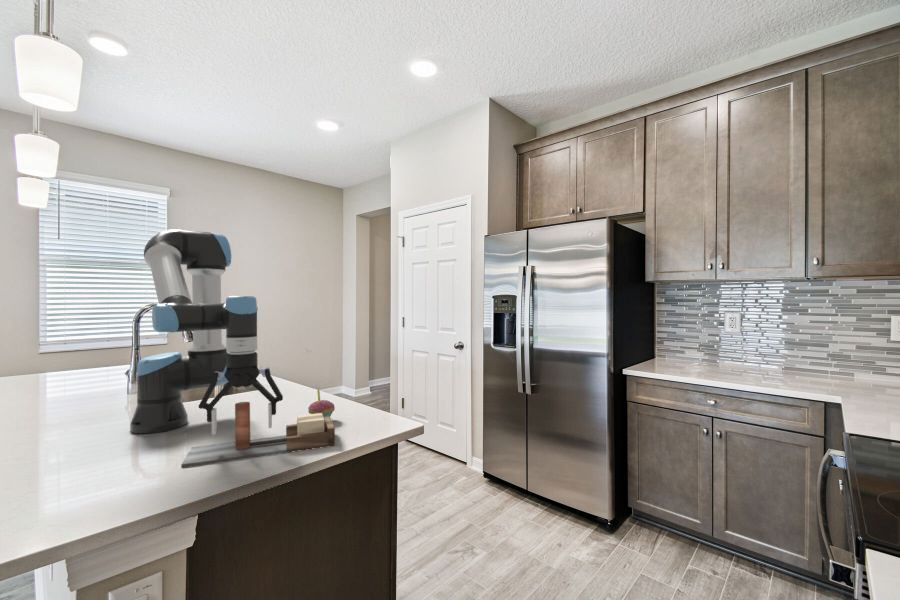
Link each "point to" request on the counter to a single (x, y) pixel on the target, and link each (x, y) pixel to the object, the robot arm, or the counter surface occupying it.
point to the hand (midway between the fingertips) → (242, 430)
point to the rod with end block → (242, 439)
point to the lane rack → (262, 446)
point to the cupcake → (321, 407)
